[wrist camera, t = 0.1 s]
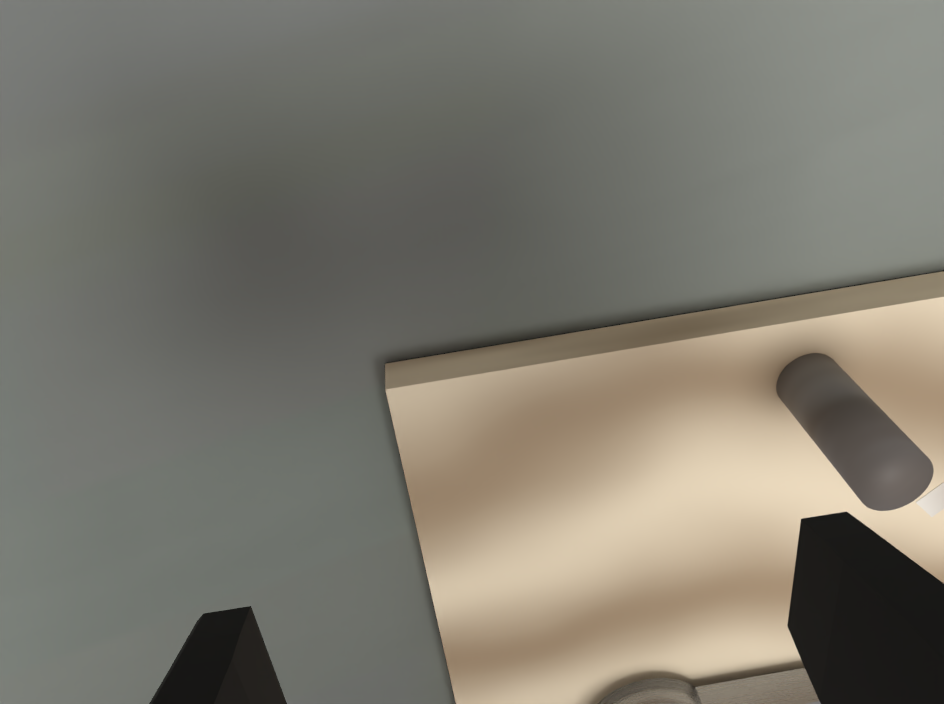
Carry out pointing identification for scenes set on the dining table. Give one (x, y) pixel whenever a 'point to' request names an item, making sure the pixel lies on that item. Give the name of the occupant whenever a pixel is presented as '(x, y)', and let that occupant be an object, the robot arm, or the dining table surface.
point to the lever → (720, 691)
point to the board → (665, 483)
